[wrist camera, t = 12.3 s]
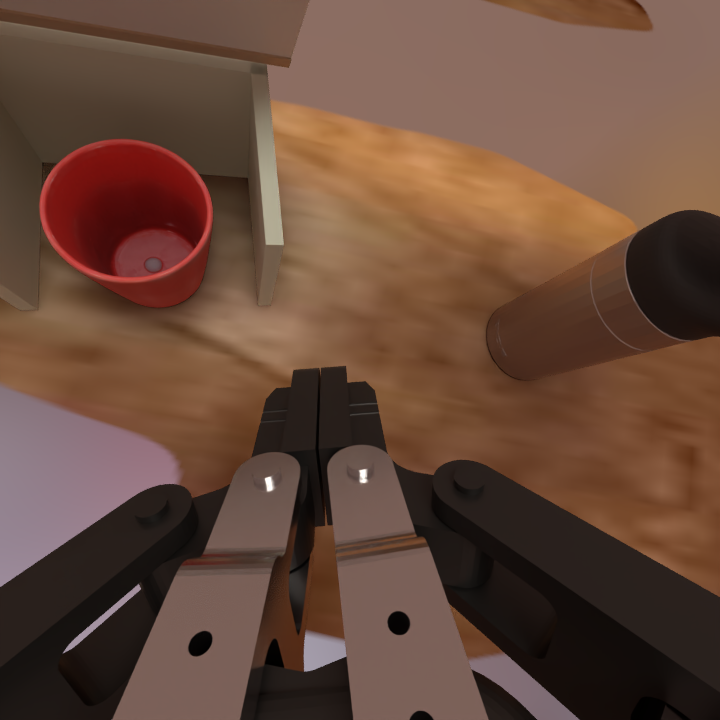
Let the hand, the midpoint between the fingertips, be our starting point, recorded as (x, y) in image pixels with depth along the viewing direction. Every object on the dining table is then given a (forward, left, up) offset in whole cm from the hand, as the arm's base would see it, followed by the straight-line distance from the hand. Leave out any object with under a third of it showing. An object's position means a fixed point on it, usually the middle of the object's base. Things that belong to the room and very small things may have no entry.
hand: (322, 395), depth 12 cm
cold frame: (+9, -20, -26) cm, 33 cm away
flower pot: (+8, -16, -26) cm, 32 cm away
